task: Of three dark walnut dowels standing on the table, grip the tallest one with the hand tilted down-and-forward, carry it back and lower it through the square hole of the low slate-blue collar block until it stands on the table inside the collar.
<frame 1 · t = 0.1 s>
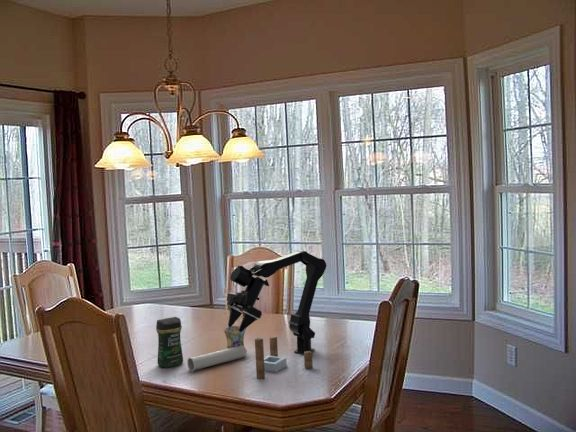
hand: (234, 329, 211), 15 cm above the table, tool tilted 30°, fingers open, 9 cm apart
short walnut dowel: (308, 367, 208), on the table
coffee jar: (170, 365, 218), on the table
tube: (219, 363, 217), on the table, touching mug
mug: (234, 353, 230), on the table, touching tube
medium walnut dowel: (274, 359, 219), on the table
slate collar block: (272, 367, 210), on the table
long walnut dowel: (260, 377, 199), on the table
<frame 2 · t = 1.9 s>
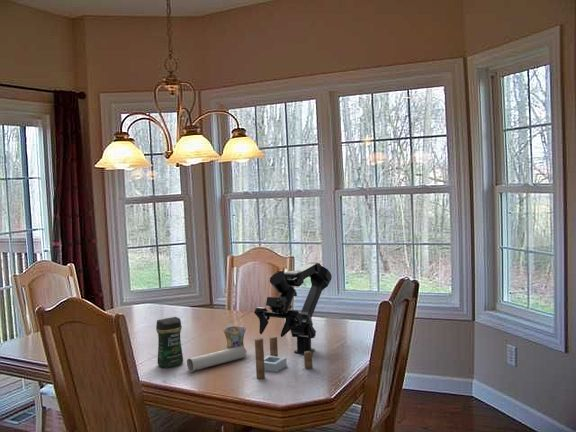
hand: (270, 335, 205), 13 cm above the table, tool tilted 45°, fingers open, 9 cm apart
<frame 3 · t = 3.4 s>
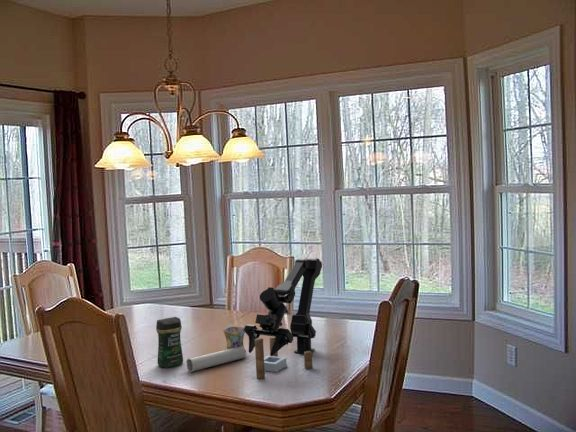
hand: (260, 354, 199), 9 cm above the table, tool tilted 45°, fingers open, 9 cm apart
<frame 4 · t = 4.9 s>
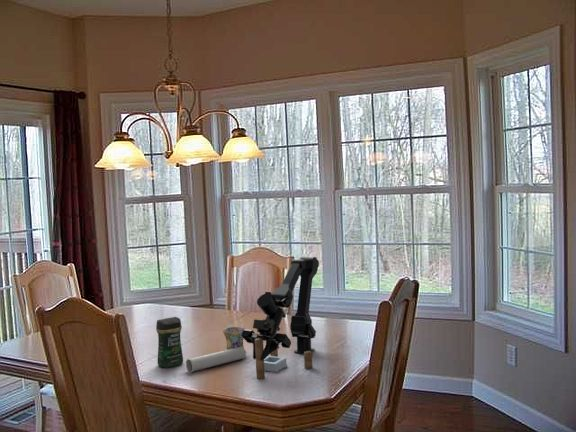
hand: (257, 359, 198), 7 cm above the table, tool tilted 45°, fingers closed on long walnut dowel, 3 cm apart
long walnut dowel: (260, 377, 199), on the table, touching gripper
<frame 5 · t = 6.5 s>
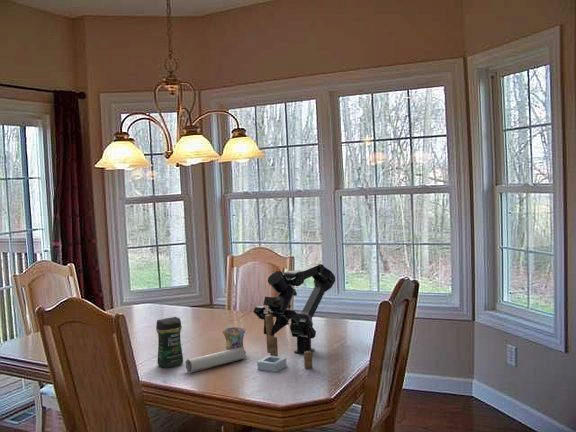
hand: (268, 334, 207), 13 cm above the table, tool tilted 45°, fingers closed on long walnut dowel, 3 cm apart
long walnut dowel: (271, 351, 209), point 6 cm above the table, touching gripper
when the fingers open (8 cm above the table, at t = 8.1 s): long walnut dowel stays where it is, resting in slate collar block.
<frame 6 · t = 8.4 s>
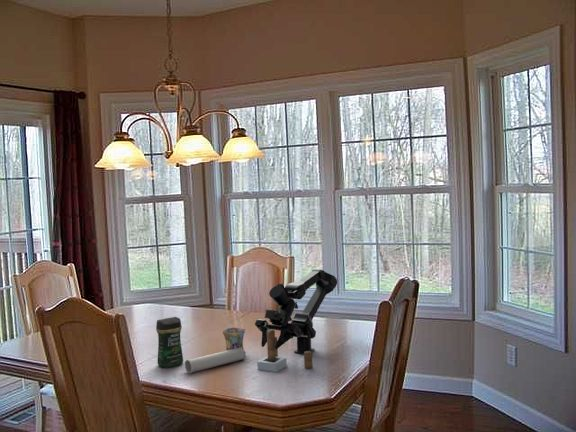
hand: (268, 347, 208), 8 cm above the table, tool tilted 45°, fingers open, 6 cm apart
long walnut dowel: (272, 367, 210), resting in slate collar block
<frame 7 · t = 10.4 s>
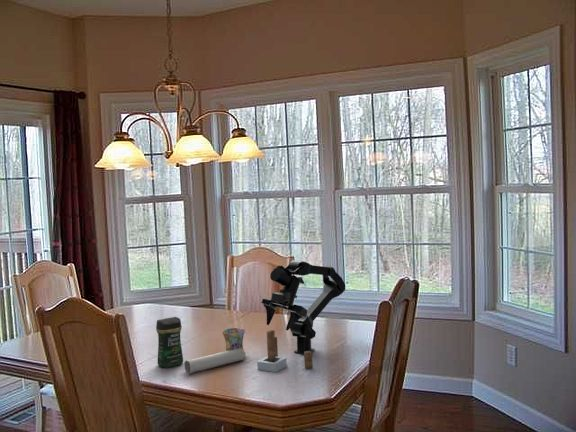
hand: (277, 327, 217), 13 cm above the table, tool tilted 30°, fingers open, 9 cm apart
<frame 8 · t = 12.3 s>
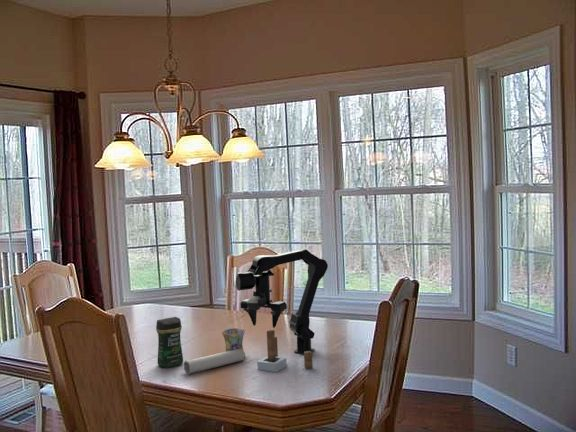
hand: (264, 326, 220), 13 cm above the table, tool pointing down, fingers open, 9 cm apart
at the end: long walnut dowel 0.0 cm off-centre on the slate collar block, point 0.0 cm above the slate collar block's base; long walnut dowel tilted 0°; the gripper is holding nothing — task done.
